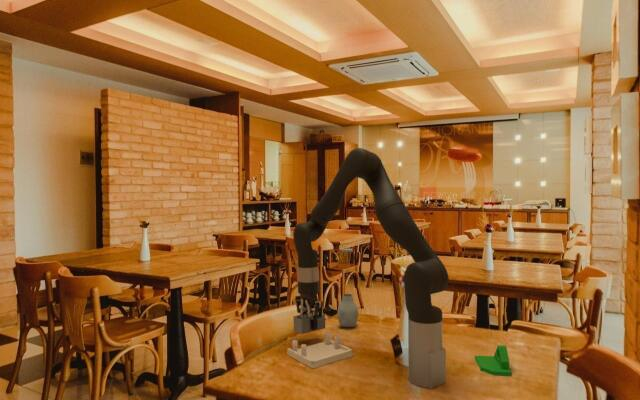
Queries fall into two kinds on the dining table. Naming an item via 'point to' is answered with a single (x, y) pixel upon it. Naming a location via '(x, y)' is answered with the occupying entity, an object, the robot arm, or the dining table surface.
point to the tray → (320, 352)
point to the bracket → (495, 362)
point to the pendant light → (347, 306)
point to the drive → (307, 323)
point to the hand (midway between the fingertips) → (309, 327)
